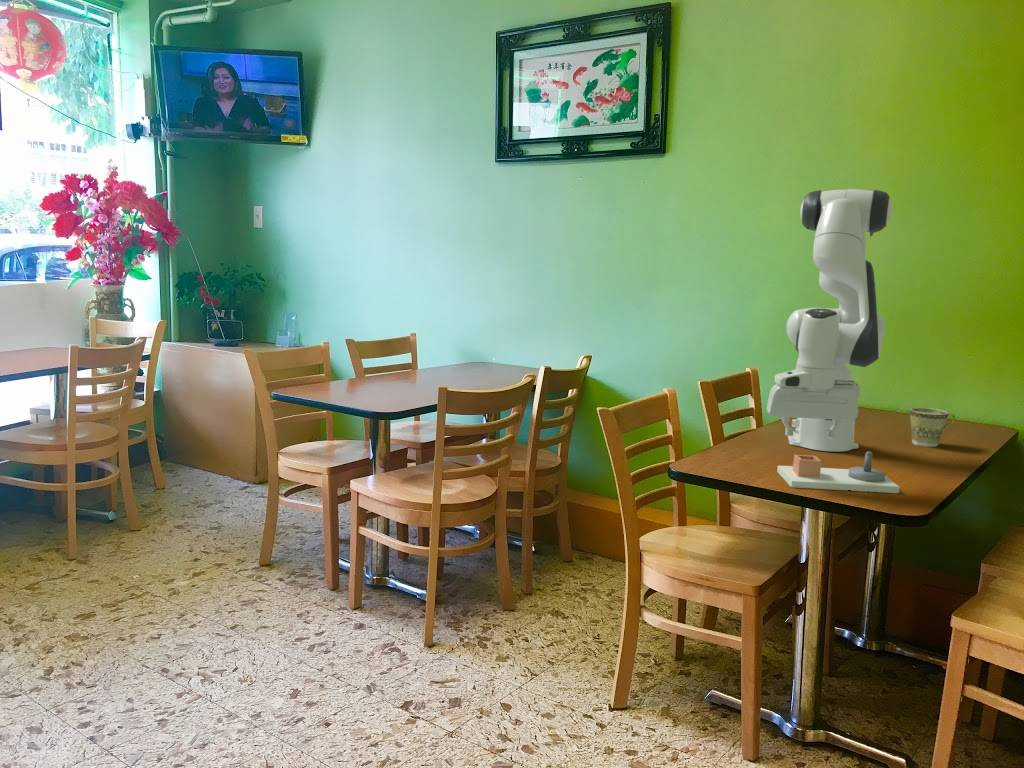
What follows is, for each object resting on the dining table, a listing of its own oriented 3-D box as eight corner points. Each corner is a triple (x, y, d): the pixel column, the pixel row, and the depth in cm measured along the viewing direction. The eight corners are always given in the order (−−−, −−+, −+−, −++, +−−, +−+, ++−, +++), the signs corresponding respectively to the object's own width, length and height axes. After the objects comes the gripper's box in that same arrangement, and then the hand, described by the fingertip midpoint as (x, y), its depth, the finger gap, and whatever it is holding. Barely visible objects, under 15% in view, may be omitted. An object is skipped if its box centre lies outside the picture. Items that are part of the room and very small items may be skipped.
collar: (792, 470, 196) (794, 454, 196) (813, 471, 196) (815, 455, 195) (798, 476, 191) (799, 459, 191) (819, 477, 191) (821, 461, 190)
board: (777, 471, 201) (779, 440, 200) (877, 476, 199) (880, 445, 198) (791, 487, 187) (794, 454, 186) (898, 493, 185) (902, 460, 184)
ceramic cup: (917, 448, 232) (921, 413, 230) (899, 440, 242) (903, 407, 240) (961, 449, 233) (965, 414, 231) (941, 440, 242) (945, 408, 241)
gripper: (856, 378, 192) (850, 436, 194) (767, 375, 194) (763, 431, 196) (865, 382, 186) (859, 441, 188) (774, 378, 188) (769, 437, 190)
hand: (809, 436), depth 192 cm, fingers open, 8 cm apart
